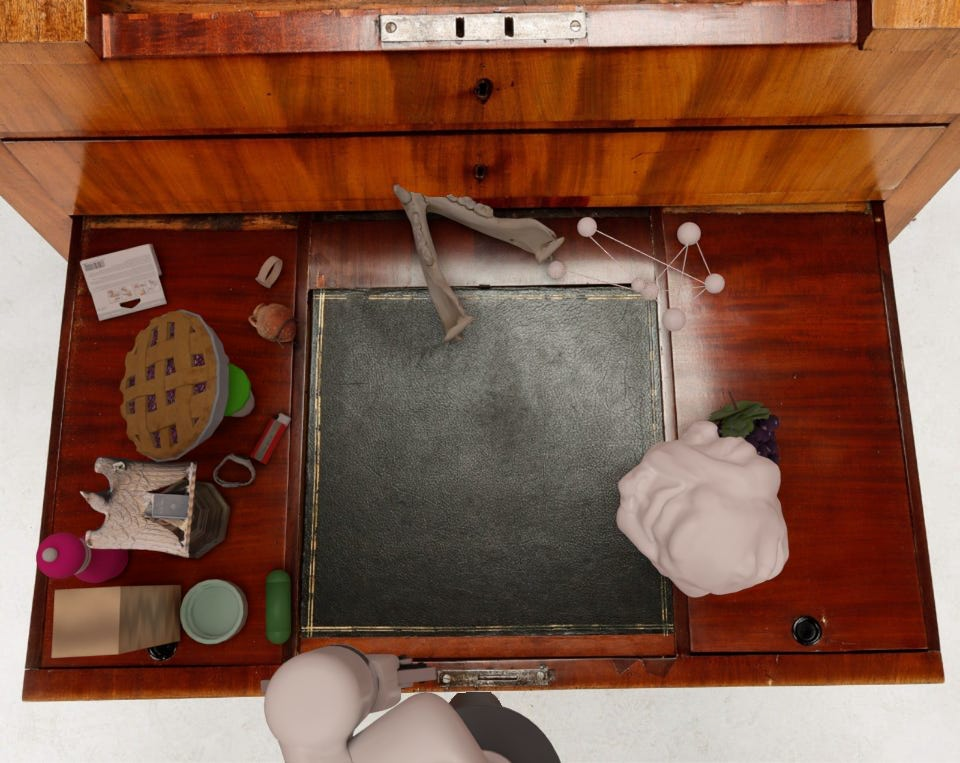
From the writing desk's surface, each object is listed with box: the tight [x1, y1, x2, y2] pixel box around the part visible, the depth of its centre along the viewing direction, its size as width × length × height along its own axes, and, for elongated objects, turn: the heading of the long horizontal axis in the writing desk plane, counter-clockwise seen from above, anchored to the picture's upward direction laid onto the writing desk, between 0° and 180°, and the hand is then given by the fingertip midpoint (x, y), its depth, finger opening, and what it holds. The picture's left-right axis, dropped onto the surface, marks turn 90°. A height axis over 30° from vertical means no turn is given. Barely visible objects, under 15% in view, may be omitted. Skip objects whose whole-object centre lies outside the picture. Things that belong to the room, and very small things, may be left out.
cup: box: [223, 363, 256, 418], centre depth 131 cm, size 8×8×15 cm
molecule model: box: [546, 216, 726, 332], centre depth 139 cm, size 14×25×18 cm
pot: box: [248, 302, 307, 349], centre depth 138 cm, size 6×8×6 cm
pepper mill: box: [35, 532, 129, 584], centre depth 123 cm, size 7×7×20 cm
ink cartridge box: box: [79, 243, 167, 322], centre depth 141 cm, size 2×11×10 cm
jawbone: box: [393, 184, 565, 343], centre depth 137 cm, size 25×25×15 cm
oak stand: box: [51, 584, 182, 659], centre depth 120 cm, size 8×8×24 cm
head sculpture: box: [615, 420, 790, 598], centre depth 124 cm, size 23×23×25 cm
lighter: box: [250, 412, 292, 465], centre depth 137 cm, size 3×1×8 cm
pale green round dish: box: [180, 578, 249, 645], centre depth 130 cm, size 9×9×4 cm
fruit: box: [706, 391, 781, 466], centre depth 134 cm, size 10×11×15 cm
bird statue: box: [79, 441, 231, 559], centre depth 117 cm, size 17×13×35 cm
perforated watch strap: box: [255, 255, 283, 289], centre depth 140 cm, size 3×5×5 cm, turn 150°
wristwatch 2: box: [213, 453, 256, 489], centre depth 135 cm, size 4×6×5 cm
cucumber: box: [265, 569, 292, 645], centre depth 130 cm, size 11×4×4 cm
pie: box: [119, 309, 229, 463], centre depth 128 cm, size 22×22×5 cm
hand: (359, 673), depth 95 cm, fingers open, 9 cm apart
